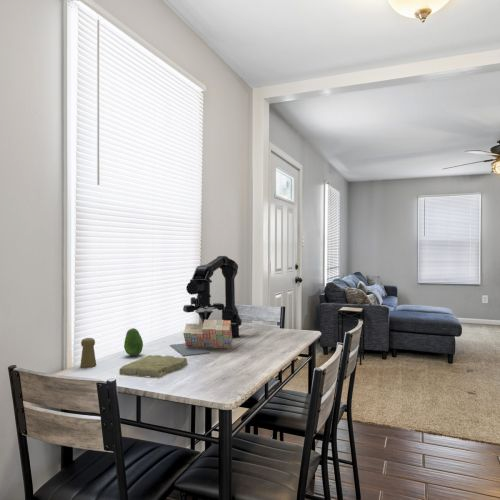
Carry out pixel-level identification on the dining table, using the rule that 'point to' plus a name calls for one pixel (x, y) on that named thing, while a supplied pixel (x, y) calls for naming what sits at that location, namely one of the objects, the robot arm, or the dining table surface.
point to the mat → (188, 349)
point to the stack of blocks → (209, 334)
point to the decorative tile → (153, 366)
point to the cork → (88, 353)
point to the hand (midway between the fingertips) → (204, 326)
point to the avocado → (133, 342)
